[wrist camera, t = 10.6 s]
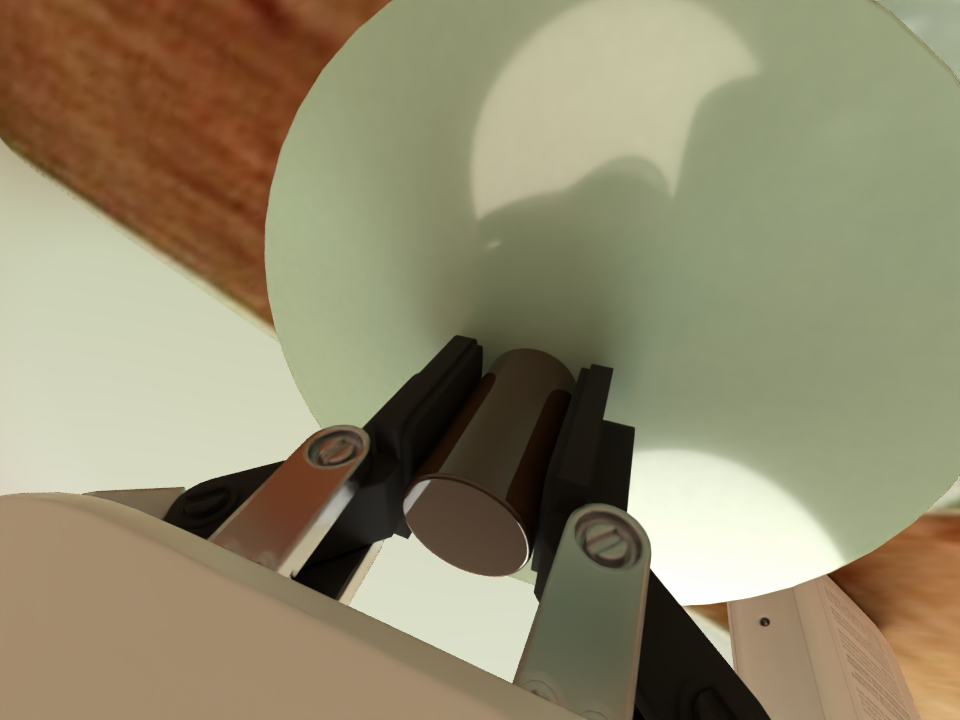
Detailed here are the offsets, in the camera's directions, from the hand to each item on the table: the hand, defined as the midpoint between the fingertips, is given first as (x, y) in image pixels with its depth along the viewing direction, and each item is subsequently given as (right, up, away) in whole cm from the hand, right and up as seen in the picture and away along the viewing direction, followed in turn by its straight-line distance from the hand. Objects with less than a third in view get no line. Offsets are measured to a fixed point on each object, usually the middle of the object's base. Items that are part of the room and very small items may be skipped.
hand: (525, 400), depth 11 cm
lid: (0, +1, +1) cm, 1 cm away
